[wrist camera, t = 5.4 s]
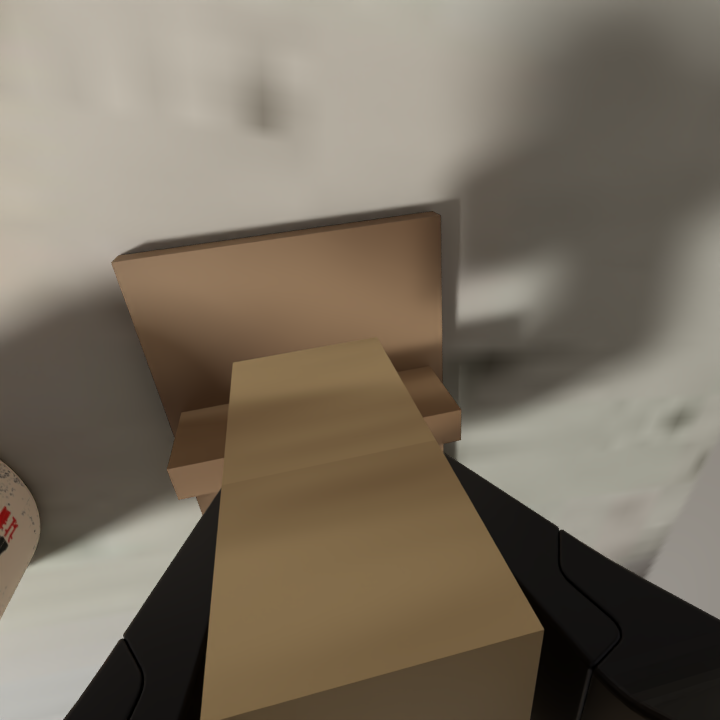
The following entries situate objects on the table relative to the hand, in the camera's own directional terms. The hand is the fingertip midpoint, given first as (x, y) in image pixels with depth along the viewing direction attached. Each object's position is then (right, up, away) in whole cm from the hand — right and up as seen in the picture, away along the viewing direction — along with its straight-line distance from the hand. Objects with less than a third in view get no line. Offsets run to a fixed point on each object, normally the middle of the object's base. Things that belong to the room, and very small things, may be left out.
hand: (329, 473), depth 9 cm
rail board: (-1, +1, +8) cm, 9 cm away
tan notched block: (0, -2, +3) cm, 3 cm away
